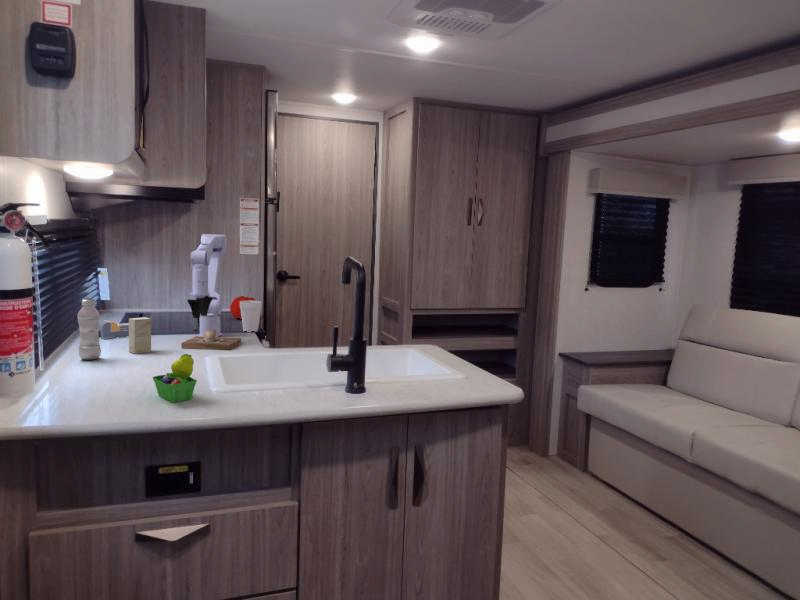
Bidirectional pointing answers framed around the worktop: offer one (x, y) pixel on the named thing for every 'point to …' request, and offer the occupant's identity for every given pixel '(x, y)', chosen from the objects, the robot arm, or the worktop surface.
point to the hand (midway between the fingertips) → (200, 316)
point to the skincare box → (139, 335)
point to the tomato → (238, 306)
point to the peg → (210, 335)
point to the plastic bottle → (89, 330)
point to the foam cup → (250, 315)
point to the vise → (112, 330)
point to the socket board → (211, 343)
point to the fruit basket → (177, 381)
